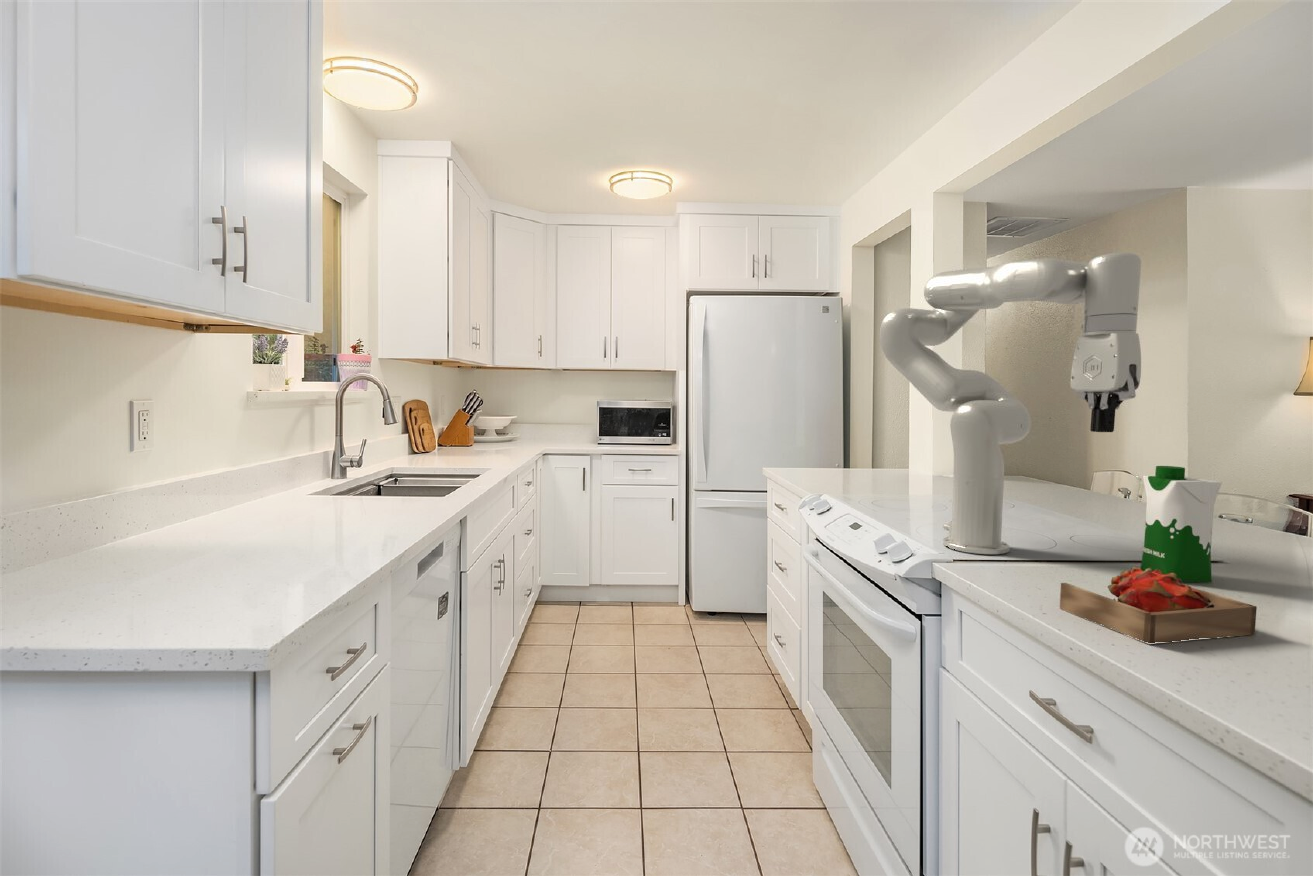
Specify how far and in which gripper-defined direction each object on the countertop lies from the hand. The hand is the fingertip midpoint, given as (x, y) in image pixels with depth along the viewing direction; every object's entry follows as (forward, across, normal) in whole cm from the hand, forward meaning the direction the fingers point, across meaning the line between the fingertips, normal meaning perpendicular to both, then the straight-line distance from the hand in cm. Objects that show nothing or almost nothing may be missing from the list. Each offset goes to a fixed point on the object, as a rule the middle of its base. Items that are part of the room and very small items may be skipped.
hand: (1101, 431), depth 107 cm
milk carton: (+26, +2, +15) cm, 31 cm away
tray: (+26, +20, -10) cm, 35 cm away
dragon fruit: (+26, +21, -9) cm, 35 cm away
